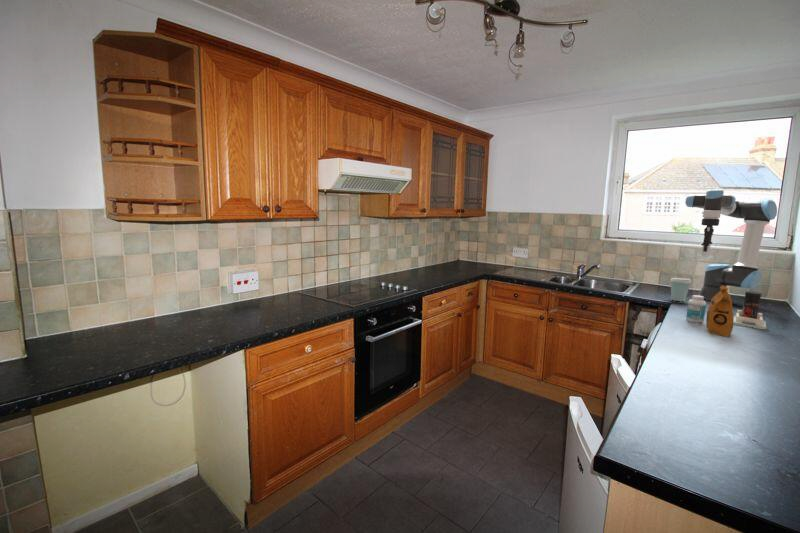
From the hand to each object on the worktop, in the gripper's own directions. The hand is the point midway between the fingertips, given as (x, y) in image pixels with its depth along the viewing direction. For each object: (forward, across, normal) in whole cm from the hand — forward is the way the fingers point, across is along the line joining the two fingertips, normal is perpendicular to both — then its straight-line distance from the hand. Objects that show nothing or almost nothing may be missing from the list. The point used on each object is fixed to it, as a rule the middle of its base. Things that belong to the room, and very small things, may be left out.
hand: (705, 256), depth 215 cm
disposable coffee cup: (+32, -21, -11) cm, 40 cm away
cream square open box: (+32, +11, +22) cm, 40 cm away
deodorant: (+31, +10, +22) cm, 39 cm away
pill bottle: (+32, +26, +1) cm, 41 cm away
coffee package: (+32, +41, +11) cm, 53 cm away
